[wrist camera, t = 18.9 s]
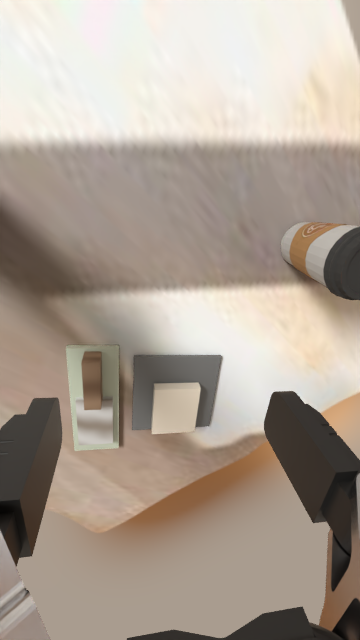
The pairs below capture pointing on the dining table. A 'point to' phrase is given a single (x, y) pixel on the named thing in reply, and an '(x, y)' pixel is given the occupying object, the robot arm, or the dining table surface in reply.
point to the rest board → (108, 384)
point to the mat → (173, 372)
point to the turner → (94, 404)
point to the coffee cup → (326, 255)
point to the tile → (175, 407)
